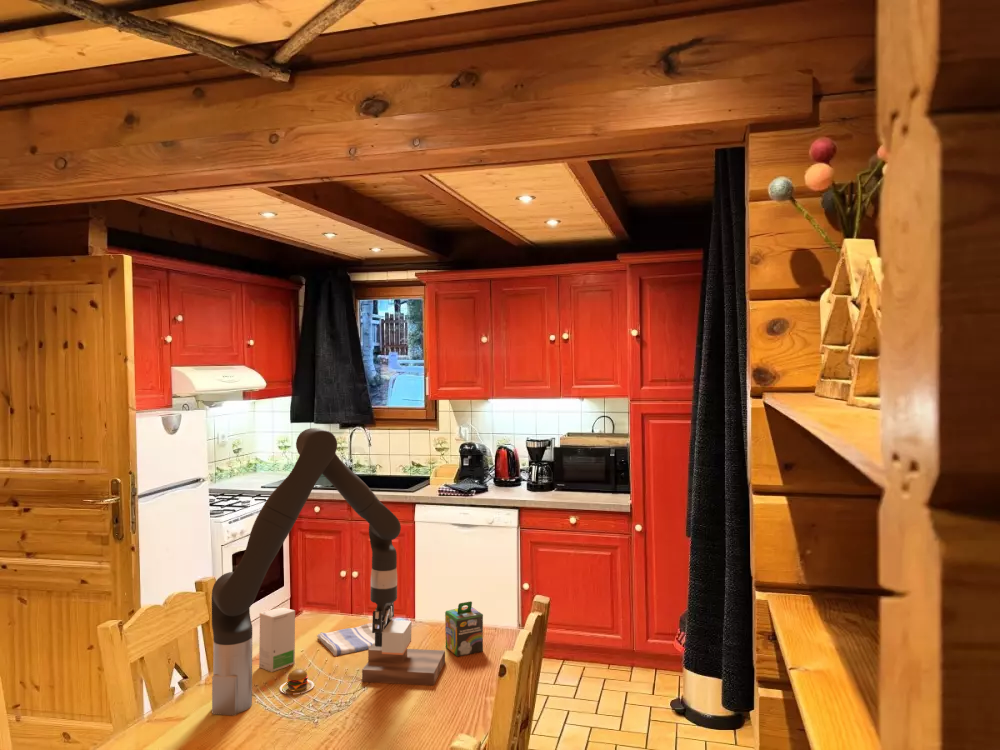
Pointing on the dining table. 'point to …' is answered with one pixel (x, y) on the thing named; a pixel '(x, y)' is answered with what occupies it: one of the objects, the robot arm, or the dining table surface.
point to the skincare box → (277, 639)
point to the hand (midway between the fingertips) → (383, 640)
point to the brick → (396, 637)
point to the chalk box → (464, 630)
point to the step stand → (403, 666)
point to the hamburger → (298, 681)
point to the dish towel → (349, 639)
